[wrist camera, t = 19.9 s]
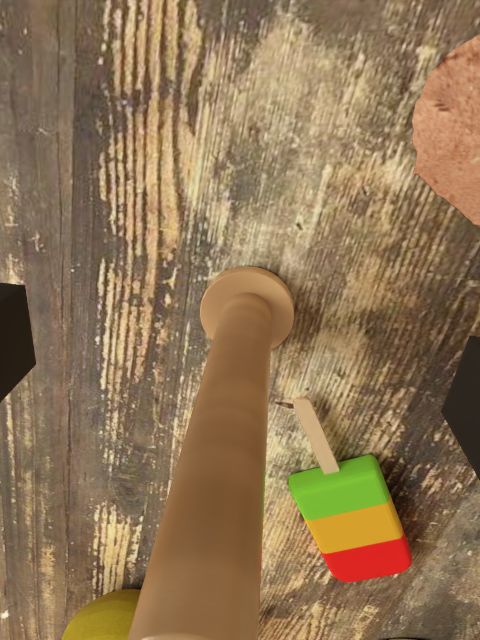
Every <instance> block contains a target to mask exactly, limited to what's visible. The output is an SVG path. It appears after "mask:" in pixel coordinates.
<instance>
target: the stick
mask: <svg viewBox="0 0 480 640" xmlns="http://www.w3.org/2000/svg"><path fill="white" fill-rule="evenodd" d="M200 318H201V322H202V325H203V328H204V330H205V331H206V333H207V335H208V336H209V337H210V339H211V340H212V341H213V342H212V345H211V349H210V352H209V356H208V359H207V363H206V366H205V369H204V373H203V376H202V380H201V383H200V387H199V390H198V394H197V397H196V401H195V404H194V408H193V411H192V415H191V418H190V422H189V425H188V429H187V432H186V436H185V439H184V443H183V446H182V450H181V453H180V457H179V460H178V464H177V467H176V471H175V474H174V478H173V481H172V485H171V488H170V492H169V495H168V499H167V502H166V506H165V509H164V513H163V516H162V520H161V523H160V527H159V530H158V534H157V537H156V541H155V544H154V548H153V551H152V555H151V558H150V561H149V565H148V568H147V572H146V575H145V579H144V582H143V586H142V589H141V593H140V596H139V600H138V603H137V607H136V610H135V614H134V617H133V621H132V624H131V628H130V631H129V635H128V638H127V640H258V628H259V605H260V583H261V560H262V537H263V515H264V492H265V470H266V447H267V425H268V402H269V380H270V357H271V350H273V349H274V348H276V347H277V346H279V345H280V344H281V343H282V342H283V341H284V340H285V339H286V337H287V336H288V335H289V333H290V331H291V329H292V326H293V322H294V304H293V299H292V296H291V293H290V291H289V289H288V288H287V286H286V285H285V284H284V282H283V281H282V280H281V279H280V278H278V277H277V276H276V275H274V274H273V273H271V272H269V271H267V270H265V269H262V268H258V267H252V266H241V267H235V268H231V269H229V270H226V271H224V272H222V273H221V274H219V275H218V276H217V277H215V278H214V279H213V280H212V281H211V283H210V284H209V285H208V287H207V289H206V291H205V293H204V295H203V298H202V301H201V306H200Z"/></svg>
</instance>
